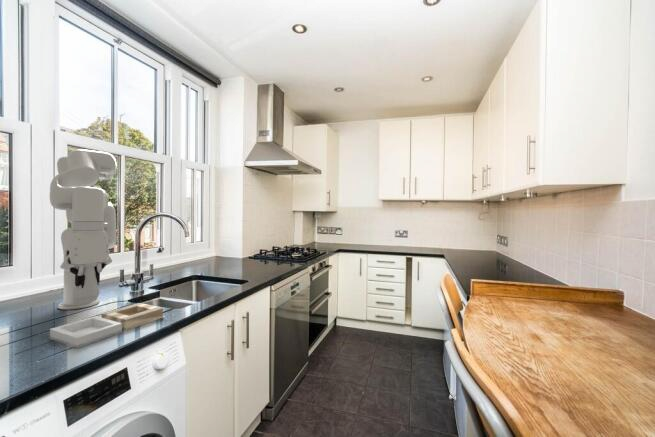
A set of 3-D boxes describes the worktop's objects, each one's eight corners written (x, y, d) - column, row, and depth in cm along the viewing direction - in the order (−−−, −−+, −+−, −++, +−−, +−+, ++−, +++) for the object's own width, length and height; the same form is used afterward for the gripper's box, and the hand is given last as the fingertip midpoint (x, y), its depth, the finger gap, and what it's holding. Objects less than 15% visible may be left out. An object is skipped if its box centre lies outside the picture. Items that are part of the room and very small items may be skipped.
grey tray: (50, 338, 85) (50, 328, 85) (95, 324, 96) (95, 316, 96) (76, 348, 80) (76, 338, 80) (121, 332, 91) (122, 323, 91)
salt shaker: (85, 305, 84) (85, 261, 84) (69, 303, 85) (70, 260, 85) (104, 299, 90) (104, 258, 90) (89, 297, 91) (89, 257, 91)
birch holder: (101, 323, 98) (101, 313, 97) (139, 311, 109) (139, 302, 109) (125, 330, 92) (126, 319, 92) (162, 317, 104) (162, 308, 104)
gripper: (109, 225, 96) (109, 279, 97) (47, 227, 81) (46, 291, 82) (123, 226, 94) (123, 282, 94) (61, 228, 78) (61, 295, 79)
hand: (87, 286), depth 88 cm, fingers closed on salt shaker, 3 cm apart
